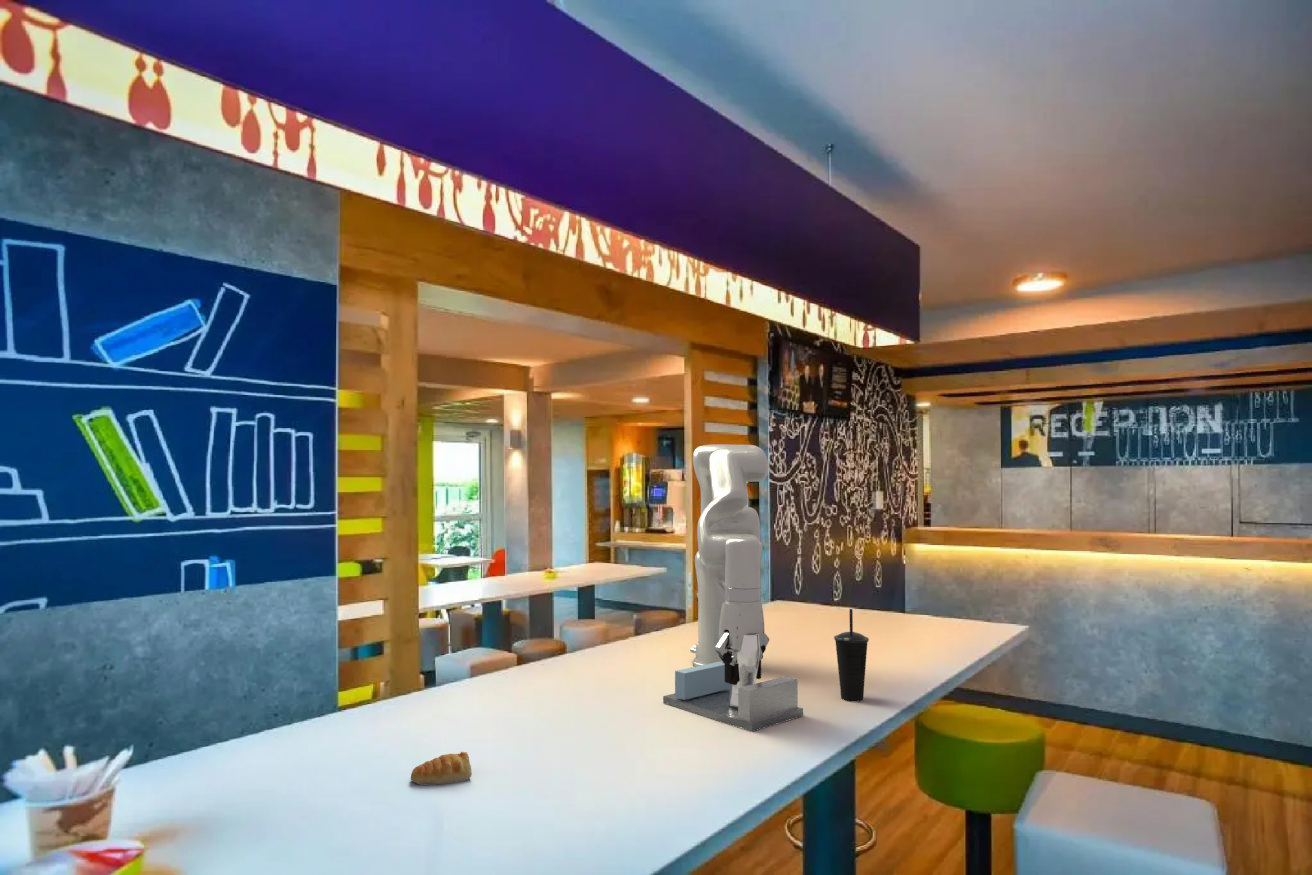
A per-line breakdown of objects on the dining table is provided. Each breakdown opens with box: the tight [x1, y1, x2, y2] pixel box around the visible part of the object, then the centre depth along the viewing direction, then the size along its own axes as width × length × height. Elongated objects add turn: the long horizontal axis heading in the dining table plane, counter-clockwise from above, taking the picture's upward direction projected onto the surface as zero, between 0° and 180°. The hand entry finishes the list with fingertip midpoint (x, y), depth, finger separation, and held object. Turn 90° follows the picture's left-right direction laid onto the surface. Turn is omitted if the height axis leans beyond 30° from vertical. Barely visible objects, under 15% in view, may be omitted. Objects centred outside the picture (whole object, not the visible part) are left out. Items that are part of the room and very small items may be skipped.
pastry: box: [410, 751, 472, 786], centre depth 124 cm, size 9×7×4 cm
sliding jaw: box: [674, 661, 730, 700], centre depth 170 cm, size 3×14×6 cm, turn 131°
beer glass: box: [728, 633, 760, 707], centre depth 161 cm, size 7×7×15 cm
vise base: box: [662, 675, 804, 732], centre depth 164 cm, size 26×16×8 cm, turn 41°
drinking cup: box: [833, 608, 870, 702], centre depth 173 cm, size 8×8×20 cm
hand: (743, 679), depth 161 cm, fingers open, 6 cm apart
